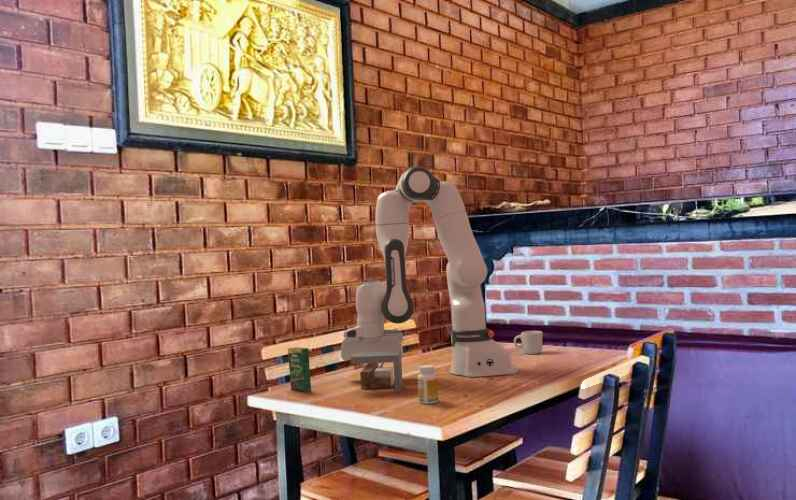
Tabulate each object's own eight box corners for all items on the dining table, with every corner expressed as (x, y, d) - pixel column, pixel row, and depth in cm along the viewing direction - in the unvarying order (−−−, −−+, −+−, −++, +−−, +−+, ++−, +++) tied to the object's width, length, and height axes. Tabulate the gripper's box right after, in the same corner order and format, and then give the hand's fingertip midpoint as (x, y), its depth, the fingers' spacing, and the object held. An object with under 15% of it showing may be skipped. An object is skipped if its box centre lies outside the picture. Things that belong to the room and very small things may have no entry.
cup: (514, 355, 241) (513, 334, 241) (514, 352, 249) (513, 331, 249) (544, 354, 239) (543, 333, 239) (543, 351, 247) (541, 330, 247)
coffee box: (289, 389, 203) (287, 347, 203) (297, 387, 205) (295, 346, 205) (303, 392, 197) (301, 349, 197) (311, 390, 198) (309, 348, 198)
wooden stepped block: (397, 377, 212) (396, 361, 212) (390, 387, 196) (389, 371, 196) (369, 378, 213) (369, 362, 213) (361, 388, 197) (360, 372, 197)
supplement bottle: (441, 399, 177) (439, 364, 177) (435, 404, 172) (433, 368, 172) (422, 399, 179) (420, 364, 179) (416, 404, 174) (414, 367, 174)
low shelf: (402, 387, 196) (400, 350, 196) (400, 392, 188) (398, 355, 188) (357, 388, 198) (355, 352, 198) (352, 394, 190) (350, 357, 190)
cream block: (393, 383, 203) (392, 367, 203) (391, 386, 198) (390, 370, 198) (377, 383, 204) (377, 367, 204) (375, 387, 199) (374, 370, 199)
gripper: (403, 327, 213) (405, 369, 213) (342, 330, 215) (344, 371, 215) (401, 330, 207) (404, 373, 207) (338, 333, 209) (341, 375, 209)
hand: (373, 372), depth 211 cm, fingers closed on wooden stepped block, 3 cm apart
